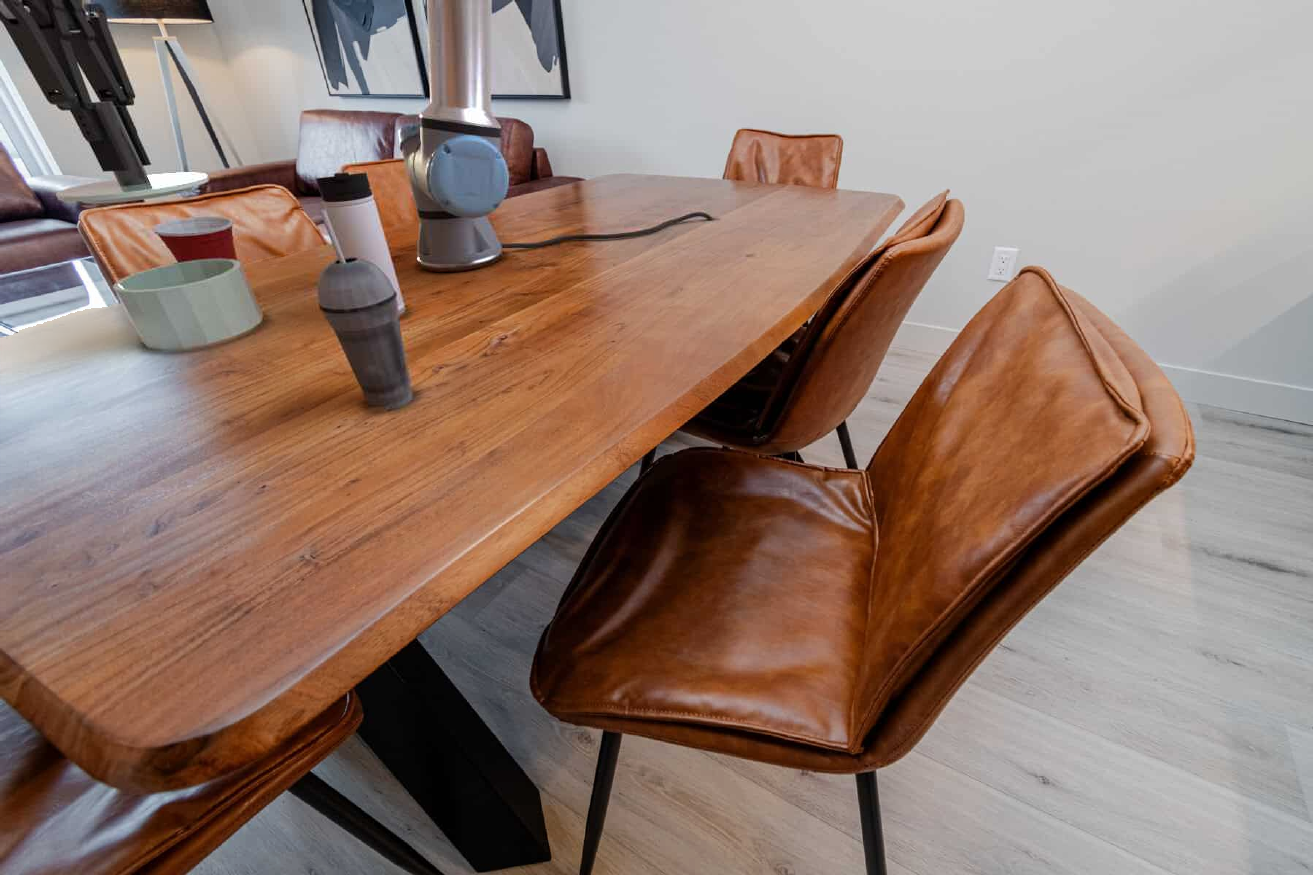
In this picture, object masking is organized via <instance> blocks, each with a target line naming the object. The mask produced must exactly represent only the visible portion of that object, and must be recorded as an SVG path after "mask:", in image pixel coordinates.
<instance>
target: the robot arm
mask: <svg viewBox="0 0 1313 875" xmlns="http://www.w3.org/2000/svg"><path fill="white" fill-rule="evenodd" d="M492 2H493V1H492V0H426V8H427V10H426V12H427V40H428V41H427V43H428V44H427V45H428V70H429V71H428V72H429V73H428V74H429V100H430V101H429V103H428V105H427V107H426V108H424V109H423V111H421V112H420V113H419V122H415V123H408V124H405V125H402V126H400V128H399V129H398V131H397V132H398V133H397V134H398V135H397V136H398V141H399V145H398V146H399V151H401V153H402V157H403V158H402V159H403V162H404V165H405V170H406V173H407V177H408V182H409V185H410V189H411V193H412V197H413V202H414V205H415V209H416V213H417V217H418V223H419V224H418V240H417V242H418V243H417V260H418V264H419V267H420V268H421V269H423V270H425V271H429V272H437V273H452V272H463V271H470V270H471V271H472V270H475V269H479V268H483V267H487V266H490V265H492V264H495V263H497V262H499V261H500V260H501V259H503V257H504V249H535V248H542V247H545V246H550V245H553V244H557V243H561V242H564V241H573V240H613V239H622V238H623V239H624V238H631V237H637V236H642V235H647V234H651V233H655V232H658V231H660V230H662V229H663V228H665V227H667V226H670V225H674V224H678V223H680V222H683V221H686V220H689V219H692V218H697V217H700V218H701V217H702V218H705V219H707V221H714V218H713V217H712V216H711V215H710V214H708V213H706V212H702V211H696V212H691V213H688V214H685V215H683V216H680V217H677V218H673V219H670V220H666V221H664V222H662V223H660V224H657V225H655V226H653V227H650V228H645V229H641V230H636V231H628V232H620V233H609V234H570V235H563V236H559V237H554V238H550V239H548V240H544V241H539V242H529V243H528V242H526V243H522V242H516V243H515V242H514V243H510V242H509V243H501V241H500V239H499V237H498V236H497V233H496V231H495V229H494V227H493V226H492V223H491V222H490V220H489V217H488V215H490V214H491V213H493V212H494V211H496V209H498V208H499V206H501V204H502V203H503V202H504V200H505V198H506V196H507V193H508V190H509V183H510V174H509V168H508V164H507V163H506V159H505V158H504V157H503V155H502V152H501V150H502V148H501V147H502V145H501V144H502V126H501V124H500V123H499V121H498V120H497V119H496V118H495V116H494V115H493V113H492V11H493V10H492V8H493V6H492V5H493V3H492ZM0 22H1V23H2V24H3V26H4V28H5V30H6V31H7V33H8V35H9V37H10V38H11V40H12V42H13V44H14V45H15V47H16V49H17V51H18V52H19V54H20V56H21V58H22V59H23V61H24V63H25V64H26V66H27V68H28V69H29V71H30V73H31V75H32V77H33V78H34V80H35V81H36V82H35V83H36V84H37V85H38V87H39V89H40V90H41V92H42V94H43V96H44V97H45V99H46V101H47V102H48V103H49V104H51V105H53V106H56V107H57V108H58V109H59V110H60V111H62V112H63V111H69V112H70V113H71V115H72V116H73V119H74V121H75V122H76V124H77V127H78V129H79V131H80V133H81V135H82V137H83V138H84V140H85V141H86V142H88V145H89V146H90V148H91V150H92V152H93V154H94V156H95V158H96V160H97V162H98V164H99V167H100V168H101V171H102V172H113V171H124V170H130V168H129V166H128V164H127V162H126V160H125V158H124V156H123V154H122V152H121V149H120V147H119V145H118V143H117V141H116V139H115V137H114V135H113V133H112V131H111V129H110V126H109V124H108V122H107V120H106V118H105V116H104V114H103V112H102V110H101V109H92V108H93V104H92V102H93V101H92V98H91V95H90V93H89V91H88V90H89V89H88V88H87V85H86V83H85V82H86V81H85V80H84V77H83V74H84V76H85V78H86V80H87V82H88V83H89V85H90V86H91V88H92V90H93V92H94V93H95V95H96V97H97V99H98V100H99V102H101V101H113V102H114V105H115V107H116V109H117V111H118V113H119V115H120V117H121V119H122V122H123V124H124V126H125V128H126V130H127V132H128V134H129V137H130V139H131V141H132V143H133V145H134V147H135V149H136V152H137V154H138V156H139V158H140V160H141V162H142V164H143V167H145V166H151V165H152V162H151V160H150V159H149V156H148V154H147V152H146V150H145V148H144V145H143V143H142V141H141V139H140V136H139V134H138V130H137V127H136V125H135V122H134V121H133V119H132V116H131V114H130V112H129V110H128V108H127V106H134V105H135V98H136V94H135V91H134V88H133V86H132V83H131V80H130V78H129V76H128V73H127V70H126V68H125V65H124V63H123V61H122V58H121V55H120V53H119V51H118V48H117V45H116V43H115V40H114V38H113V35H112V32H111V30H110V28H109V22H108V17H107V12H106V9H105V7H104V6H103V4H101V3H99V2H97V3H96V2H95V3H91V2H89V1H87V0H0ZM82 73H83V74H82ZM91 109H92V110H91Z"/></svg>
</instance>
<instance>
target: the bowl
mask: <svg viewBox="0 0 1313 875" xmlns="http://www.w3.org/2000/svg"><path fill="white" fill-rule="evenodd" d="M112 290H113V291H114V293H115V295H116V296H117V298H118V300H119V302H120V303H121V305H122V307H123V308H124V311H125V312H126V314H127V316H128V318H129V320H130V322H131V323H132V326H133V327H134V329H135V331H136V334H137V335H138V336H139V338H140V340H141V342H142V343H143V344H144V345H145V346H146V348H148V349H149V348H150V349H154V350H155V349H156V350H161V351H162V350H164V351H165V350H179V349H188V348H195V347H199V346H205V345H211V344H214V343H216V342H220V341H224V340H227V339H230V338H235V337H236V336H238V335H240V334H242V333H245V332H247V331H249V330H252V329H253V328H254V327H256V326H257V325H259V324H260V323H262V320H263V318H264V315H263V312H262V310H261V307H260V304H259V303H258V299H257V298H256V295H255V293H254V291H253V288H252V286H251V284H250V281H249V279H248V276H247V274H246V271H245V269H244V267H243V264H242V262H240V261H238V259H237V260H235V259H222V258H217V259H201V260H193V261H186V262H179V263H178V262H175V263H169V264H164V265H160V266H156V267H152V268H148V269H144V270H141V271H138V272H135V273H131V274H130V275H127V276H125V277H123V278H120V279H118V280H117V281H116V282H115V283H114V284H112Z"/></svg>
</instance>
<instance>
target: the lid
mask: <svg viewBox="0 0 1313 875" xmlns="http://www.w3.org/2000/svg"><path fill="white" fill-rule="evenodd" d="M92 104H93V108H92V109H101V110H102V112H103V114H104V116H105V118H106V120H107V122H108V124H109V126H110V129H111V131H112V133H113V135H114V137H115V139H116V141H117V143H118V145H119V147H120V149H121V152H122V154H123V156H124V158H125V160H126V162H127V164H128V166H129V168H130V170H124V171H112V173H113V176H114V178H115V179H110V180H104V181H97V182H92V183H91V182H90V183H86V184H81V185H76V186H71V187H68V188H65V189H62V190H59V191H57V192H56V193H55V196H56V197H57V200H59V201H62V202H72V203H73V202H75V203H77V202H79V203H80V202H81V203H83V204H114V203H125V202H126V203H127V202H132V201H133V202H134V201H141V200H149V199H155V198H162V197H167V196H172V195H177V194H180V193H185V192H188V191H191V190H193V189H194V188H195V187H197V186H201V185H204V184H207V183H208V182H210V178H209V176H208V174H206V173H202V172H201V173H200V172H198V173H197V172H176V173H163V174H161V173H160V174H152V175H151V174H150V175H148V173H147V171H146V169H145V166H143V164H142V162H141V160H140V158H139V156H138V154H137V152H136V149H135V147H134V145H133V143H132V141H131V139H130V137H129V134H128V132H127V130H126V128H125V126H124V124H123V122H122V119H121V117H120V115H119V113H118V111H117V109H116V107H115V105H114V102H113V101H101V102H100V101H92ZM92 109H91V110H92Z"/></svg>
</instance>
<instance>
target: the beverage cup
mask: <svg viewBox="0 0 1313 875" xmlns="http://www.w3.org/2000/svg"><path fill="white" fill-rule="evenodd" d="M319 213H320V216H321V218H322V221H323V223H324V227H325V229H326V231H327V233H328V236H329V239H330V242H331V244H332V246H333V249H334V251H335V254H336V257H337V259H336V260H334V261H333V262H331V263H329V264H328V265H327V266H326V267H325V268H324V269H323V271H322V272H321V274H320V276H319V278H318V282H317V288H316V293H317V299H318V308H319V311H321V312H323V313H322V314H323V315H324V317H325V320H326V321H327V323H328V324H329V326H330V328H331V329H333V331H334V333H335V335H336V337H337V340H338V342H339V344H340V346H341V348H342V350H343V352H344V355H345V357H346V359H347V361H348V363H349V366H350V367H351V370H352V373H353V374H354V377H355V379H356V381H357V383H358V385H359V387H360V389H361V392H362V394H363V396H364V397H365V399H366V400H367V403H368V404H370V405H371V406H373V407H388V409H387V411H393V410H397V409H400V408H402V407H404V406H406V405H407V404H409V403H410V402H411V401H412V400H413V397H414V396H413V391H412V385H411V384H412V381H411V377H410V371H409V365H408V362H407V356H406V352H405V346H404V341H403V336H402V331H401V327H400V320H399V315H398V304H397V299H396V296H397V293H396V291H395V290H394V288H393V286H392V284H391V282H390V280H389V279H388V277H387V276H386V275H385V273H384V272H383V271H382V270H381V269H380V268H379V267H377V266H376V265H375V264H373V263H371V262H369V261H367V260H364V259H361V258H356V257H349V258H344V257H343V254H342V252H341V249H340V246H339V244H338V241H337V239H336V236H335V234H334V231H333V229H332V226H331V224H330V221H329V219H328V216H327V213H326V210H325V209H321V210H319Z"/></svg>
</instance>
